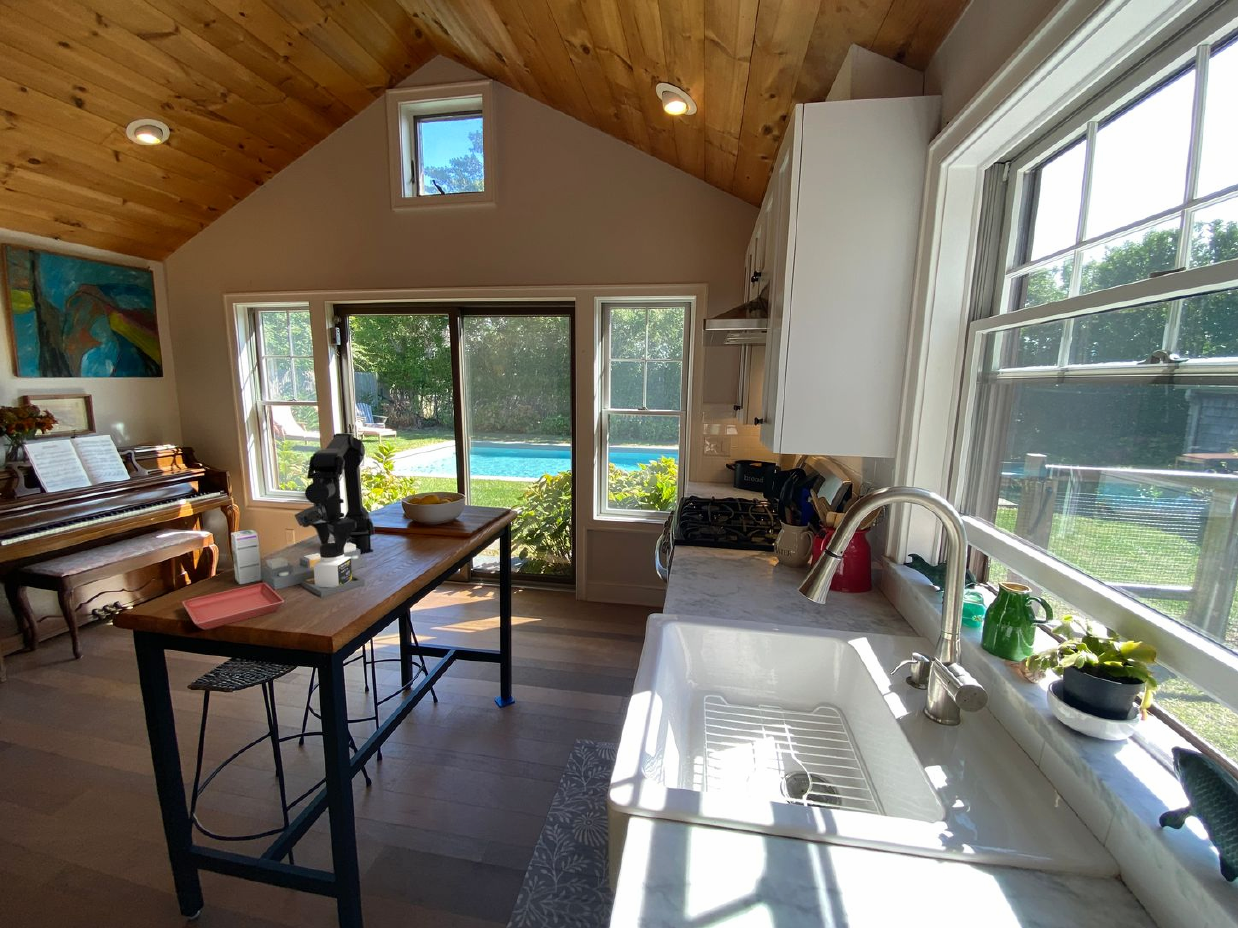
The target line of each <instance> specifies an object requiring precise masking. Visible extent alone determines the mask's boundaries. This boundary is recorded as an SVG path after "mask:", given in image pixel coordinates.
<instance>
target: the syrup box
mask: <svg viewBox="0 0 1238 928" xmlns="http://www.w3.org/2000/svg"><path fill="white" fill-rule="evenodd" d="M258 535H259V534H258V533H257V532H256V531H255V530H254V529H243V530H240V531H235V532H231V533H230V537H231V549H232V559H233V569H234V579H235V580H236V582H237V583H238V584H239V585H244V584H249V583H250V582H251V583H254V582H259V581H263V579H262V565H261V554H260V552H261V551H260V546H259V545H260V544H259V536H258ZM251 583H250V584H251Z"/></svg>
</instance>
